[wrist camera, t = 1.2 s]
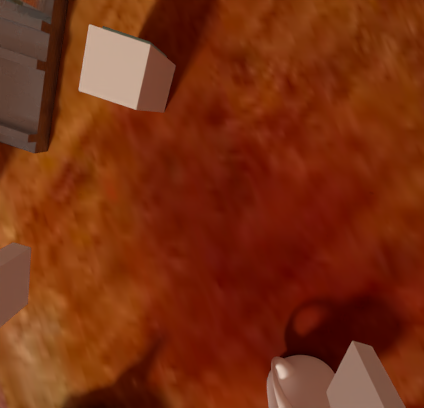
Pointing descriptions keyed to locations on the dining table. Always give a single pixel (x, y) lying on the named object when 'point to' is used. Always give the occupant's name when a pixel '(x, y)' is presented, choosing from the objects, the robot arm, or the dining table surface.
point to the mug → (298, 382)
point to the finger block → (125, 70)
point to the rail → (29, 70)
